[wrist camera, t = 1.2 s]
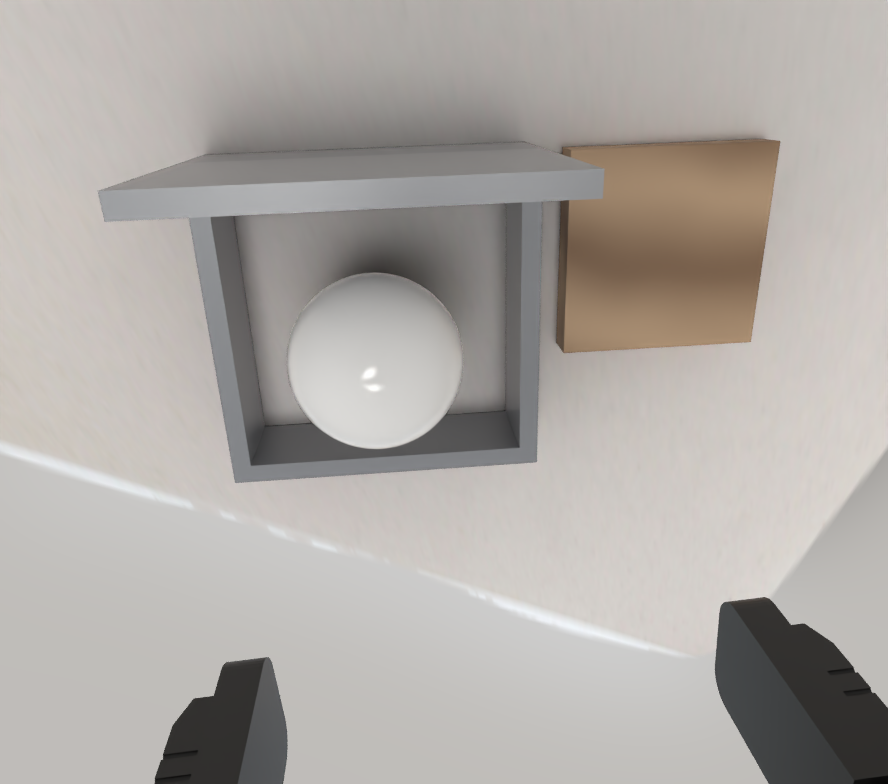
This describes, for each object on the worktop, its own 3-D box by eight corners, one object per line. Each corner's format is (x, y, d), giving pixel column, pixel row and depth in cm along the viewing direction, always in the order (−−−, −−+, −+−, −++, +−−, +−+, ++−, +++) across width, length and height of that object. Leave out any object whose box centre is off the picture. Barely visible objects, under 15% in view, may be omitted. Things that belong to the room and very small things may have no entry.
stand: (562, 147, 30) (571, 149, 29) (762, 138, 31) (780, 141, 30) (556, 342, 34) (563, 353, 33) (735, 332, 35) (750, 341, 33)
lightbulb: (333, 212, 31) (308, 270, 21) (465, 261, 32) (503, 338, 22) (292, 341, 33) (251, 450, 23) (418, 382, 34) (432, 503, 24)
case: (204, 154, 29) (97, 191, 18) (524, 141, 30) (604, 168, 19) (250, 441, 35) (189, 603, 24) (521, 424, 36) (582, 572, 25)
